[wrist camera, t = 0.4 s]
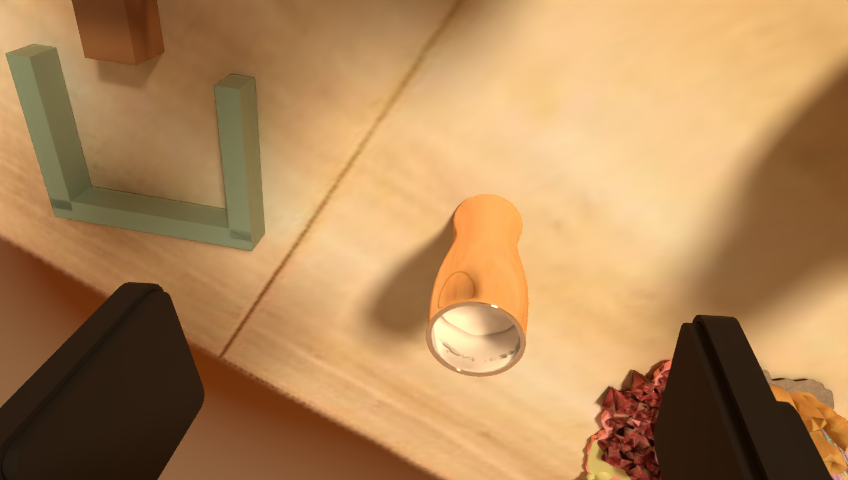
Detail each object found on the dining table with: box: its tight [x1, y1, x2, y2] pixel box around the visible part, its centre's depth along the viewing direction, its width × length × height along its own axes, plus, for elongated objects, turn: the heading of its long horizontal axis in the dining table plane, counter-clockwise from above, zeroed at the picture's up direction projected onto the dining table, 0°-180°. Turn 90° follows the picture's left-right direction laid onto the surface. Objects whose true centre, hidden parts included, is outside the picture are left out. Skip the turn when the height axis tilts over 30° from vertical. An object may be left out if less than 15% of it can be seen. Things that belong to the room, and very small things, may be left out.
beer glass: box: [426, 194, 529, 377], centre depth 43 cm, size 7×7×15 cm
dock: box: [5, 44, 265, 251], centre depth 49 cm, size 15×19×3 cm
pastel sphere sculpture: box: [585, 361, 848, 480], centre depth 56 cm, size 25×24×9 cm
